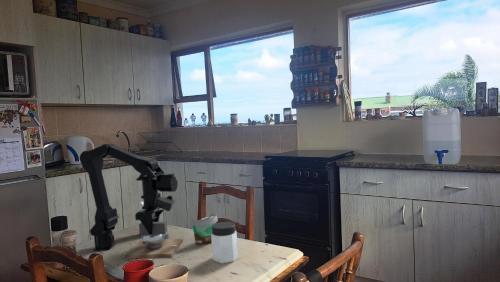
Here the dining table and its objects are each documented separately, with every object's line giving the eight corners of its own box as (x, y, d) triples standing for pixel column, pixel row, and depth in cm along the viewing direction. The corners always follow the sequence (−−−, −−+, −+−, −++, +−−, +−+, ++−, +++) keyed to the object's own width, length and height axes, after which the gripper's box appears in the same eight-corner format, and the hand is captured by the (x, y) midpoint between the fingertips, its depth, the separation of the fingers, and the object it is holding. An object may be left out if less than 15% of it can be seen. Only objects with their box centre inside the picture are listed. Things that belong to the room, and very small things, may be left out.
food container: (204, 248, 140) (202, 222, 139) (192, 245, 143) (191, 220, 143) (225, 238, 149) (223, 214, 149) (214, 236, 153) (212, 212, 153)
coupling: (137, 245, 137) (135, 226, 136) (145, 237, 146) (144, 220, 145) (164, 244, 136) (163, 225, 135) (171, 236, 145) (170, 219, 144)
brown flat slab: (123, 258, 134) (122, 249, 133) (139, 243, 150) (139, 235, 149) (171, 256, 132) (171, 248, 132) (183, 241, 148) (182, 234, 148)
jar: (214, 265, 123) (211, 230, 122) (211, 256, 131) (209, 223, 130) (240, 261, 125) (238, 226, 124) (235, 252, 133) (233, 220, 132)
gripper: (163, 196, 130) (166, 239, 131) (177, 186, 148) (180, 223, 149) (133, 197, 130) (136, 240, 131) (150, 187, 149) (153, 224, 150)
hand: (153, 231), depth 140 cm, fingers open, 6 cm apart
